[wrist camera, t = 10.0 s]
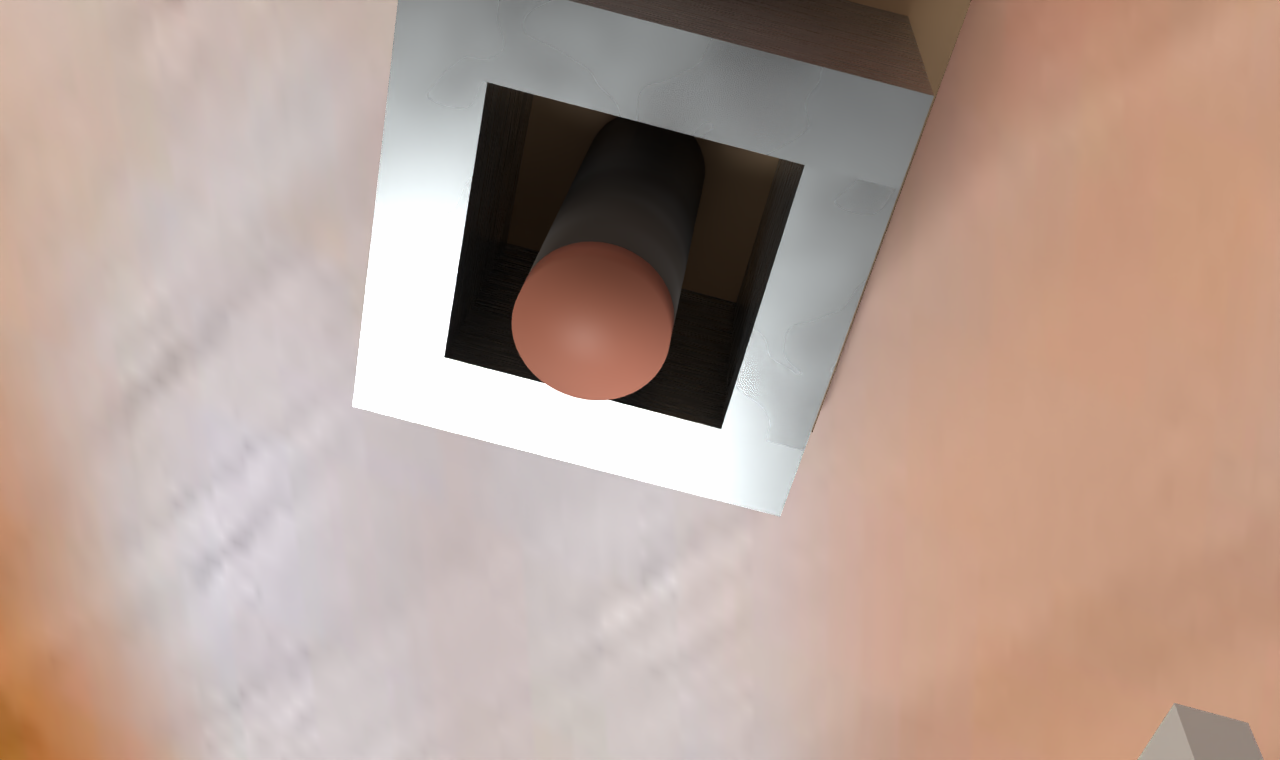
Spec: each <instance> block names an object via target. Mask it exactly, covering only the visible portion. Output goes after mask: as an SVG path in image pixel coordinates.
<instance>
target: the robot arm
mask: <svg viewBox="0 0 1280 760" xmlns="http://www.w3.org/2000/svg"><path fill="white" fill-rule="evenodd" d="M1138 760H1264V759H1263V757H1262V755H1261V752H1260V750H1259V747H1258V745H1257V743H1256V740H1255V738H1254V736H1253V733H1252V731H1251V729H1250V726H1249V724H1248V723H1246V722H1243V721H1239V720H1235V719H1232V718H1228V717H1224V716H1220V715H1217V714H1213V713H1209V712H1206V711H1202V710H1198V709H1195V708H1191V707H1187V706H1183V705H1180V704H1176V703H1174V704H1173V706H1172V708H1171V709H1170V711H1169V712H1168V714H1167V715H1166V717H1165V718H1164V720H1163V721H1162V723H1161V724H1160V726H1159V727H1158V729H1157V730H1156V732H1155V734H1154V735H1153V737H1152V738H1151V740H1150V741H1149V743H1148V744H1147V746H1146V747H1145V749H1144V750H1143V752H1142V753H1141V755H1140V757H1139V758H1138Z"/></svg>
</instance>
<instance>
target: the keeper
mask: <svg viewBox="0 0 1280 760" xmlns="http://www.w3.org/2000/svg"><path fill="white" fill-rule="evenodd" d="M848 1H851V2H855V3H859V4H863V5H867V6H870V7H874V8H878V9H882V10H886V11H890V12H893V13H897V14H901V15H905V16H908V17H909V21H910V24H911V27H912V30H913V33H914V36H915V39H916V42H917V45H918V48H919V51H920V54H921V57H922V61H923V64H924V67H925V70H926V73H927V76H928V79H929V82H930V85H931V88H932V91H933V94H934V98H933V100H932V103H931V106H930V109H929V111H928V114H927V117H926V119H925V122H924V125H923V128H922V130H921V133H920V136H919V139H918V141H917V144H916V147H915V149H914V152H913V155H912V158H911V160H910V163H909V166H908V169H907V171H906V174H905V177H904V180H903V182H902V185H901V188H900V190H899V193H898V196H897V199H896V201H895V204H894V207H893V210H892V212H891V215H890V218H889V221H888V223H887V226H886V229H885V231H884V234H883V237H882V240H881V242H880V245H879V248H878V251H877V253H876V256H875V259H874V261H873V264H872V267H871V270H870V272H869V275H868V278H867V281H866V283H865V286H864V289H863V292H862V294H861V297H860V300H859V302H858V305H857V308H856V311H855V313H854V316H853V319H852V322H851V324H850V327H849V330H848V332H847V335H846V338H845V341H844V343H843V346H842V349H841V352H840V354H839V357H838V360H837V363H836V365H835V368H834V371H833V373H832V376H831V379H830V382H829V384H828V387H827V390H826V393H825V395H824V398H823V401H822V404H821V406H820V409H819V412H818V414H817V417H816V420H815V423H814V425H813V428H812V431H811V432H813V429H814V427H815V424H816V421H817V419H818V416H819V413H820V410H821V408H822V405H823V402H824V399H825V397H826V394H827V391H828V389H829V386H830V383H831V380H832V378H833V375H834V372H835V370H836V367H837V364H838V361H839V359H840V356H841V353H842V351H843V348H844V345H845V342H846V340H847V337H848V334H849V331H850V329H851V326H852V323H853V321H854V318H855V315H856V312H857V310H858V307H859V304H860V302H861V299H862V296H863V293H864V291H865V288H866V285H867V283H868V280H869V277H870V274H871V272H872V269H873V266H874V263H875V261H876V258H877V255H878V253H879V250H880V247H881V244H882V242H883V239H884V236H885V234H886V231H887V228H888V225H889V223H890V220H891V217H892V215H893V212H894V209H895V206H896V204H897V201H898V198H899V195H900V193H901V190H902V187H903V185H904V182H905V179H906V176H907V174H908V171H909V168H910V166H911V163H912V160H913V157H914V155H915V152H916V149H917V147H918V144H919V141H920V138H921V136H922V133H923V130H924V127H925V125H926V122H927V119H928V117H929V114H930V111H931V108H932V106H933V103H934V100H935V98H936V95H937V92H938V89H939V87H940V84H941V81H942V79H943V76H944V73H945V70H946V68H947V65H948V62H949V59H950V57H951V54H952V51H953V49H954V46H955V43H956V40H957V38H958V35H959V32H960V30H961V27H962V24H963V21H964V19H965V16H966V13H967V11H968V8H969V5H970V2H971V0H848ZM778 162H779V158H776V157H772V156H768V155H765V154H761V153H757V152H753V151H749V150H745V149H742V148H738V147H734V146H730V145H726V144H722V143H719V142H715V141H711V140H707V139H703V138H699V137H696V136H692V135H688V134H684V133H680V132H676V131H673V130H669V129H665V128H661V127H657V126H653V125H650V124H646V123H642V122H638V121H634V120H630V119H627V118H623V117H619V116H615V115H611V114H607V113H604V112H600V111H596V110H592V109H588V108H584V107H581V106H577V105H573V104H569V103H565V102H561V101H558V100H554V99H550V98H546V97H542V96H538V95H535V94H534V95H533V101H532V106H531V112H530V117H529V123H528V129H527V134H526V140H525V145H524V151H523V156H522V162H521V167H520V173H519V178H518V184H517V190H516V195H515V201H514V206H513V212H512V217H511V223H510V228H509V234H508V240H507V243H509V244H513V245H517V246H521V247H524V248H528V249H532V250H536V251H539V253H538V255H537V257H536V259H535V262H534V264H533V266H532V268H531V270H530V272H529V274H528V276H527V278H526V280H525V282H524V284H523V286H522V288H521V291H520V293H519V295H518V297H517V299H516V302H515V305H514V308H513V313H512V333H513V339H514V342H515V345H516V348H517V350H518V352H519V355H520V357H521V358H522V360H523V361H524V363H525V364H526V366H527V367H528V368H529V369H530V371H531V372H532V373H533V374H534V375H535V376H536V377H537V378H538V379H540V380H541V381H542V382H544V383H545V384H546V385H548V386H549V387H551V388H553V389H555V390H556V391H559V392H561V393H563V394H565V395H568V396H571V397H575V398H579V399H584V400H595V401H596V400H610V399H616V398H620V397H624V396H626V395H629V394H631V393H634V392H635V391H637V390H639V389H641V388H642V387H643V386H645V385H646V384H647V383H649V382H650V381H651V380H652V379H653V378H654V377H655V376H656V374H657V373H658V372H659V370H660V369H661V367H662V365H663V363H664V362H665V359H666V357H667V354H668V350H669V346H670V341H671V336H672V331H673V327H674V322H675V317H676V312H677V308H678V303H679V298H680V293H681V289H686V290H690V291H694V292H698V293H702V294H705V295H709V296H713V297H717V298H721V299H725V300H729V301H732V302H736V300H737V297H738V294H739V290H740V287H741V284H742V281H743V277H744V274H745V271H746V267H747V264H748V261H749V257H750V254H751V251H752V248H753V244H754V241H755V238H756V234H757V231H758V228H759V224H760V221H761V218H762V215H763V211H764V208H765V205H766V201H767V198H768V195H769V191H770V188H771V185H772V182H773V178H774V175H775V172H776V168H777V165H778Z"/></svg>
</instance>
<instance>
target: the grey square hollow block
mask: <svg viewBox="0 0 1280 760" xmlns="http://www.w3.org/2000/svg"><path fill="white" fill-rule="evenodd" d="M534 94H535V95H538V96H542V97H546V98H550V99H554V100H558V101H561V102H565V103H569V104H573V105H577V106H581V107H584V108H588V109H592V110H596V111H600V112H604V113H607V114H611V115H615V116H619V117H623V118H627V119H630V120H634V121H638V122H642V123H646V124H650V125H653V126H657V127H661V128H665V129H669V130H673V131H676V132H680V133H684V134H688V135H692V136H696V137H699V138H703V139H707V140H711V141H715V142H719V143H722V144H726V145H730V146H734V147H738V148H742V149H745V150H749V151H753V152H757V153H761V154H765V155H768V156H772V157H776V158H779V162H778V165H777V168H776V172H775V175H774V178H773V182H772V185H771V188H770V191H769V195H768V198H767V201H766V205H765V208H764V211H763V215H762V218H761V221H760V224H759V228H758V231H757V234H756V238H755V241H754V244H753V248H752V251H751V254H750V257H749V261H748V264H747V267H746V271H745V274H744V277H743V281H742V284H741V287H740V290H739V294H738V297H737V300H736V302H732V301H729V300H725V299H721V298H717V297H713V296H709V295H705V294H702V293H698V292H694V291H690V290H686V289H681V293H680V298H679V303H678V308H677V312H676V317H675V322H674V327H673V331H672V336H671V341H670V346H669V350H668V354H667V357H666V359H665V362H664V363H663V365H662V367H661V369H660V370H659V372H658V373H657V374H656V376H655V377H654V378H653V379H652V380H651V381H650V382H649V383H647V384H646V385H645V386H643V387H642V388H641V389H639V390H637V391H635V392H634V393H631V394H629V395H626V396H624V397H620V398H616V399H610V400H596V401H595V400H584V399H579V398H575V397H571V396H568V395H565V394H563V393H561V392H559V391H556V390H555V389H553V388H551V387H549V386H548V385H546V384H545V383H544V382H542V381H541V380H540V379H538V378H537V377H536V376H535V375H534V374H533V373H532V372H531V371H530V369H529V368H528V367H527V366H526V364H525V363H524V361H523V360H522V358H521V357H520V355H519V352H518V350H517V348H516V345H515V342H514V339H513V333H512V313H513V308H514V305H515V302H516V299H517V297H518V295H519V293H520V291H521V288H522V286H523V284H524V282H525V280H526V278H527V276H528V274H529V272H530V270H531V268H532V266H533V264H534V262H535V259H536V257H537V255H538V253H539V251H536V250H532V249H528V248H524V247H521V246H517V245H513V244H509V243H507V240H508V234H509V228H510V223H511V217H512V212H513V206H514V201H515V195H516V190H517V184H518V178H519V173H520V167H521V162H522V156H523V151H524V145H525V140H526V134H527V129H528V123H529V117H530V112H531V106H532V101H533V95H534ZM933 98H934V94H933V91H932V88H931V85H930V82H929V79H928V76H927V73H926V70H925V67H924V64H923V61H922V57H921V54H920V51H919V48H918V45H917V42H916V39H915V36H914V33H913V30H912V27H911V24H910V21H909V17H908V16H905V15H901V14H897V13H893V12H890V11H886V10H882V9H878V8H874V7H870V6H867V5H863V4H859V3H855V2H851V1H848V0H398V6H397V15H396V24H395V33H394V42H393V51H392V60H391V68H390V77H389V86H388V95H387V104H386V113H385V122H384V131H383V140H382V148H381V157H380V166H379V175H378V184H377V193H376V202H375V211H374V220H373V229H372V237H371V246H370V255H369V264H368V273H367V282H366V291H365V300H364V309H363V317H362V326H361V335H360V344H359V353H358V362H357V371H356V380H355V389H354V397H353V407H357V408H361V409H365V410H369V411H373V412H377V413H380V414H384V415H388V416H392V417H396V418H400V419H404V420H408V421H411V422H415V423H419V424H423V425H427V426H431V427H435V428H439V429H442V430H446V431H450V432H454V433H458V434H462V435H466V436H470V437H473V438H477V439H481V440H485V441H489V442H493V443H497V444H501V445H504V446H508V447H512V448H516V449H520V450H524V451H528V452H532V453H535V454H539V455H543V456H547V457H551V458H555V459H559V460H563V461H566V462H570V463H574V464H578V465H582V466H586V467H590V468H594V469H597V470H601V471H605V472H609V473H613V474H617V475H621V476H625V477H628V478H632V479H636V480H640V481H644V482H648V483H652V484H656V485H659V486H663V487H667V488H671V489H675V490H679V491H683V492H687V493H690V494H694V495H698V496H702V497H706V498H710V499H714V500H718V501H721V502H725V503H729V504H733V505H737V506H741V507H745V508H749V509H752V510H756V511H760V512H764V513H768V514H772V515H776V516H780V515H781V513H782V510H783V507H784V505H785V502H786V499H787V496H788V494H789V491H790V488H791V485H792V483H793V480H794V477H795V475H796V472H797V469H798V466H799V464H800V461H801V458H802V455H803V453H804V450H805V447H806V444H807V442H808V439H809V436H810V434H811V431H812V428H813V425H814V423H815V420H816V417H817V414H818V412H819V409H820V406H821V404H822V401H823V398H824V395H825V393H826V390H827V387H828V384H829V382H830V379H831V376H832V373H833V371H834V368H835V365H836V363H837V360H838V357H839V354H840V352H841V349H842V346H843V343H844V341H845V338H846V335H847V332H848V330H849V327H850V324H851V322H852V319H853V316H854V313H855V311H856V308H857V305H858V302H859V300H860V297H861V294H862V292H863V289H864V286H865V283H866V281H867V278H868V275H869V272H870V270H871V267H872V264H873V261H874V259H875V256H876V253H877V251H878V248H879V245H880V242H881V240H882V237H883V234H884V231H885V229H886V226H887V223H888V221H889V218H890V215H891V212H892V210H893V207H894V204H895V201H896V199H897V196H898V193H899V190H900V188H901V185H902V182H903V180H904V177H905V174H906V171H907V169H908V166H909V163H910V160H911V158H912V155H913V152H914V149H915V147H916V144H917V141H918V139H919V136H920V133H921V130H922V128H923V125H924V122H925V119H926V117H927V114H928V111H929V109H930V106H931V103H932V100H933Z"/></svg>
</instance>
